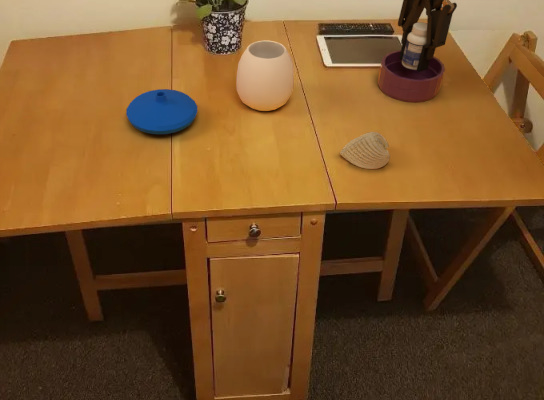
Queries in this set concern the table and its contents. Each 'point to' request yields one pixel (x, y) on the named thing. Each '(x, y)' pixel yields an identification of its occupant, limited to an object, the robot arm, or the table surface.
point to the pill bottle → (414, 45)
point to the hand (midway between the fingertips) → (413, 63)
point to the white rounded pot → (265, 75)
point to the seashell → (367, 151)
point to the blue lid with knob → (161, 111)
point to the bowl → (409, 79)
